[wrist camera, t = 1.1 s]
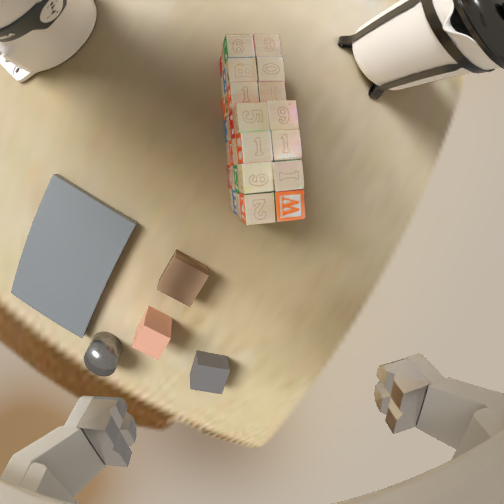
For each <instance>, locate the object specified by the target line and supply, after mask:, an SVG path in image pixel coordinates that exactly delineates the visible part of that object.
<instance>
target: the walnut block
mask: <svg viewBox="0 0 504 504" xmlns="http://www.w3.org/2000/svg"><path fill="white" fill-rule="evenodd" d="M208 277H209V273H208V267H207V266H205V265H203V264H201V263H200V262H198V261H196V260H194V259H192V258H191V257H189V256H187V255H185V254H184V253H182V252H180V251H178V250H177V249H176V251H175V253H174V255H173V256H172V258H171V260H170V262H169V263H168V265H167V267H166V269H165V270H164V272H163V274H162V276H161V277H160V279H159V283H158V287H157V290H159V291H161V292H163V293H165V294H166V295H168V296H170V297H172V298H174V299H176V300H178V301H180V302H182V303H183V304H185V305H187V306H189V307H190V306H191V305H192V303H193V301H194V300H195V298H196V297H197V295H198V293H199V292H200V290H201V288H202V287H203V285H204V284H205V282H206V280H207V279H208Z"/></svg>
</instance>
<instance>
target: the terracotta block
mask: <svg viewBox="0 0 504 504" xmlns="http://www.w3.org/2000/svg"><path fill="white" fill-rule="evenodd" d="M171 330H172V318H171V317H169V316H167V315H165V314H163V313H161V312H160V311H158V310H156V309H154V308H152V307H150V306H148V308H147V310H146V312H145V313H144V315H143V317H142V319H141V321H140V323H139V325H138V327H137V330H136V334H135V337H134V341H133V345H132V348H134V349H136V350H138V351H141V352H143V353H145V354H147V355H149V356H151V357H153V358H155V359H157V360H158V359H159V358H160V356H161V354H162V353H163V351H164V349H165V348H166V346H167V344H168V343H169V341H170V339H171Z"/></svg>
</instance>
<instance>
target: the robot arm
mask: <svg viewBox="0 0 504 504" xmlns="http://www.w3.org/2000/svg"><path fill="white" fill-rule="evenodd" d="M96 16H97V10H96V6H95V3H94V0H0V64H1V65H2V66H3V67H4V68H5V69H6V70H7V71H8V72H9V73H10V74H11V76H12V77H13V78H14V79H15V80H17V81H18V82H24V81H26V80H27V79H29V78H30V77H31V76H33V75H34V74H35V73H38V72H40V71H44V70H48V69H51V68H53V67H55V66H57V65H59V64H61V63H63V62H64V61H66V60H67V59H68V58H70V57H71V56H72V55H73V54H75V53H76V52H77V51H78V50H79V49H80V48H81V46H82V45H83V44H84V43H85V41H86V40H87V39H88V37H89V35H90V34H91V32H92V30H93V28H94V25H95V22H96ZM19 69H20V70H19ZM18 70H19V72H18ZM17 72H18V73H17ZM377 377H378V378H379V380H380V381H379V382H378V384H377V385H376V386H375V393H374V394H375V401H376V404H377V407H378V409H379V411H380V412H382V413H384V414H386V415H387V416H386V420H385V421H386V423H387V424H388V426H389V428H390V429H391V431H392V433H393V434H395V433H398V432H401V431H404V430H407V429H410V428H413V427H416V428H418V429H420V430H421V431H423V432H425V433H427V434H429V435H431V436H432V437H434V438H436V439H438V440H440V441H442V442H444V443H446V444H447V445H449V446H451V447H453V448H455V449H457V450H456V452H455V454H454V456H453V458H452V459H451V460H450V461H448V462H446V463H444V464H442V465H440V466H438V467H436V468H434V469H431V470H429V471H427V472H425V473H423V474H420V475H418V476H416V477H413V478H411V479H408V480H406V481H403V482H401V483H398V484H395V485H393V486H390V487H387V488H384V489H381V490H378V491H376V492H372V493H369V494H366V495H363V496H359V497H356V498H353V499H349V500H345V501H341V502H337V503H333V504H504V393H500V392H497V391H493V390H489V389H486V388H482V387H479V386H475V385H472V384H469V383H465V382H461V381H459V380H455V379H452V378H446V379H445V378H444V377H443V376H442V375H441V374H440V373H439V372H438V371H437V369H435V367H434V366H433V365H432V364H431V363H430V362H429V361H428V360H427V359H426V358H425V357H424V356H423V355H422V354H416V355H413V356H410V357H407V358H405V359H401V360H398V361H394V362H391V363H388V364H384V365H380V366H379V368H378V371H377ZM127 408H128V406H127V405H126V403H125V401H124V399H122V398H112V397H96V396H95V397H92V396H82V397H80V398H79V400H78V402H77V404H76V405H75V407H74V409H73V411H72V412H71V414H70V416H69V418H68V420H67V422H66V424H65V425H64V426H59V427H58V428H56V429H55V430H53V431H51V432H50V433H48V434H47V435H45V436H43V437H42V438H40V439H39V440H37V441H35V442H33V443H32V444H30V445H28V446H27V447H26V448H23V449H22V450H20V451H19V452H17V453H15V454H14V455H13V456H12V458H11V459H10V461H9V463H8V465H7V466H6V468H5V470H4V472H3V474H2V475H1V477H0V504H80V503H79V502H77V500H76V499H75V498H74V496H75V495H76V494H77V493H78V492H79V491H80V490H81V489H82V488H83V487H84V486H85V485H87V484H88V483H89V482H90V481H91V480H92V479H93V478H94V477H95V476H96V475H97V474H98V473H99V472H100V471H101V470H102V469H103V468H104V467H105V465H110V466H111V465H112V466H123V467H128V464H129V461H130V457H131V454H132V452H131V450H130V448H129V446H131V445H132V444H133V443H135V439H136V425H135V421H134V419H133V417H132V416H131V415H130V414H128V413H127V412H126V410H127Z"/></svg>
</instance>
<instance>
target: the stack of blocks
mask: <svg viewBox="0 0 504 504" xmlns="http://www.w3.org/2000/svg"><path fill="white" fill-rule="evenodd" d="M220 69H221V92H222V106H223V120H224V126H225V139H226V150H227V162H228V165H227V168H228V182H229V197H230V208H231V210H232V211H233V212H234V213H235V214H236V215H237V216H238V218H239V219H240V220H241V221H243V222H244V223H245V224H246V225H255V224H264V223H274V222H276V221H277V222H282V221H291V220H300V219H305V200H304V190H303V189H304V175H303V164H302V160H301V158H302V148H301V138H300V131H299V122H298V113H297V105H296V100H287V98H286V89H285V71H284V63H283V57H282V54H281V45H280V37H279V35H271V34H253V35H251V34H239V35H226V36H225V39H224V43H223V50H222V55H221V58H220Z"/></svg>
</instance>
